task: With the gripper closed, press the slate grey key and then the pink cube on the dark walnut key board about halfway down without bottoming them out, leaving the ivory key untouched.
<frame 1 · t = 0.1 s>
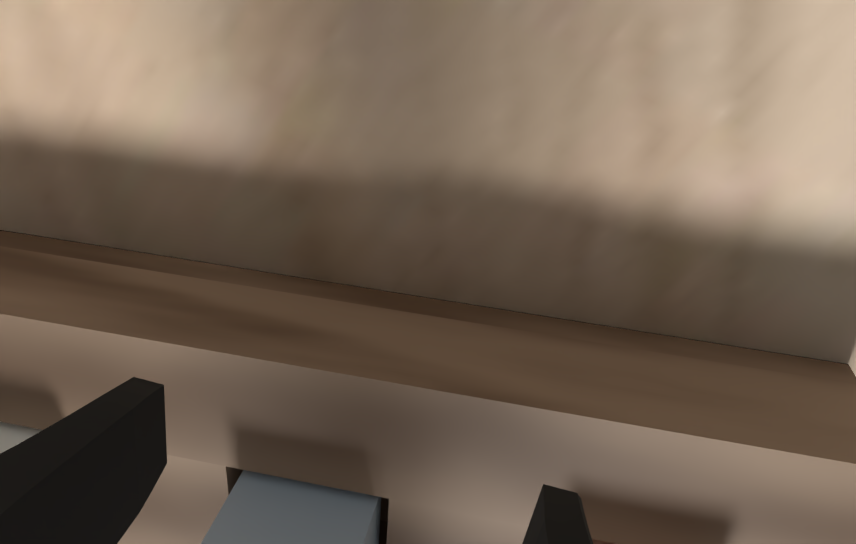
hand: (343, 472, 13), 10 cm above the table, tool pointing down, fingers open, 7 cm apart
ivory key: (6, 503, 23), point 6 cm above the table, slide at 0.0 cm
key board: (347, 443, 26), on the table
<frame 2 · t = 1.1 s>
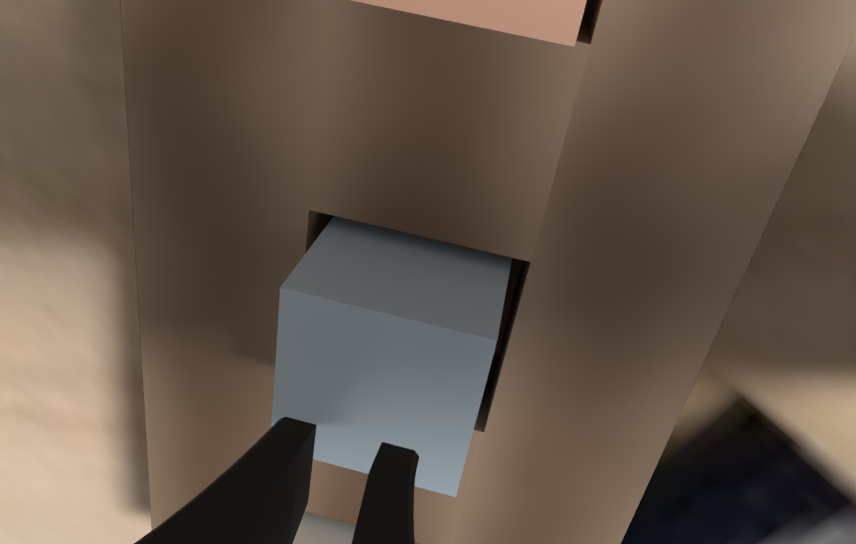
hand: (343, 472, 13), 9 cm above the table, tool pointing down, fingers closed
key board: (434, 247, 21), on the table
slate key: (392, 351, 16), point 6 cm above the table, slide at 0.0 cm
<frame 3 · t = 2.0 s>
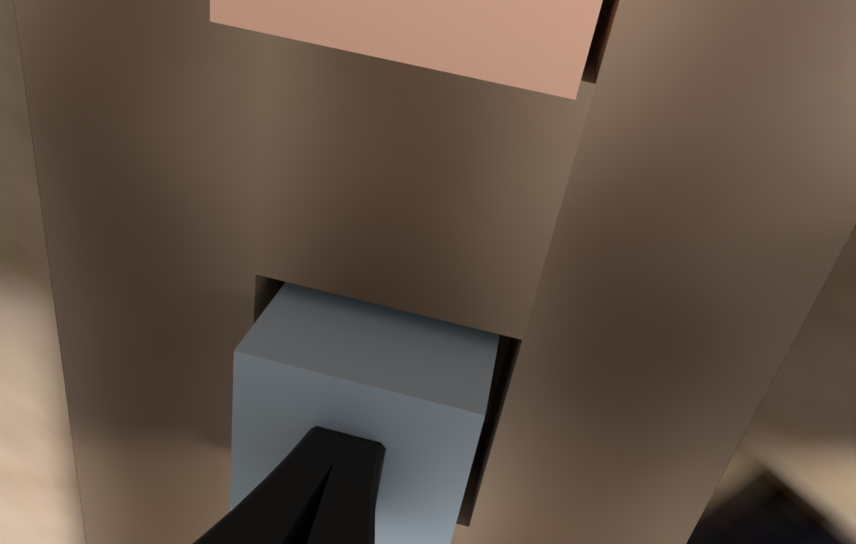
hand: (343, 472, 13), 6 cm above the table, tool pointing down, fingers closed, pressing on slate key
key board: (415, 299, 18), on the table
slate key: (369, 412, 14), point 5 cm above the table, slide at 0.9 cm, touching gripper
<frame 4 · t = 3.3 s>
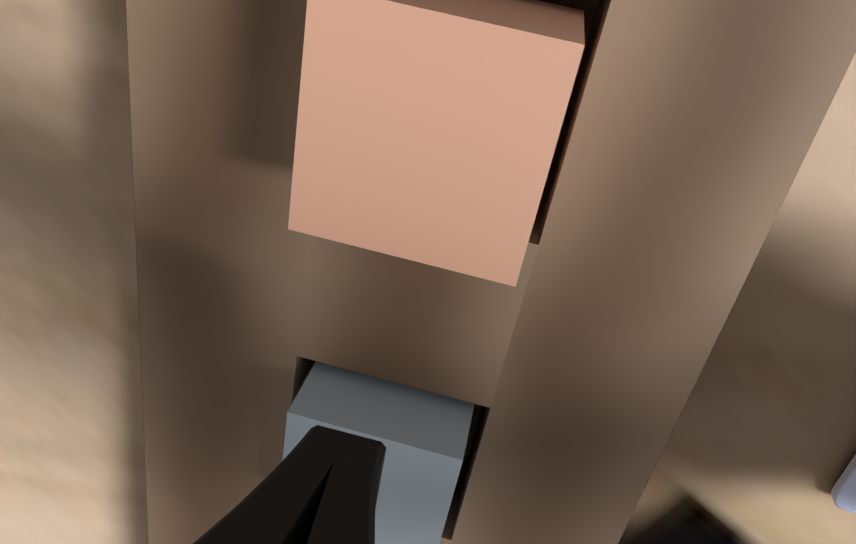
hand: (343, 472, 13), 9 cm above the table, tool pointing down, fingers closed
pink cube: (438, 117, 13), point 5 cm above the table, slide at 0.0 cm
key board: (412, 359, 23), on the table
slate key: (379, 450, 19), point 4 cm above the table, slide at 1.1 cm
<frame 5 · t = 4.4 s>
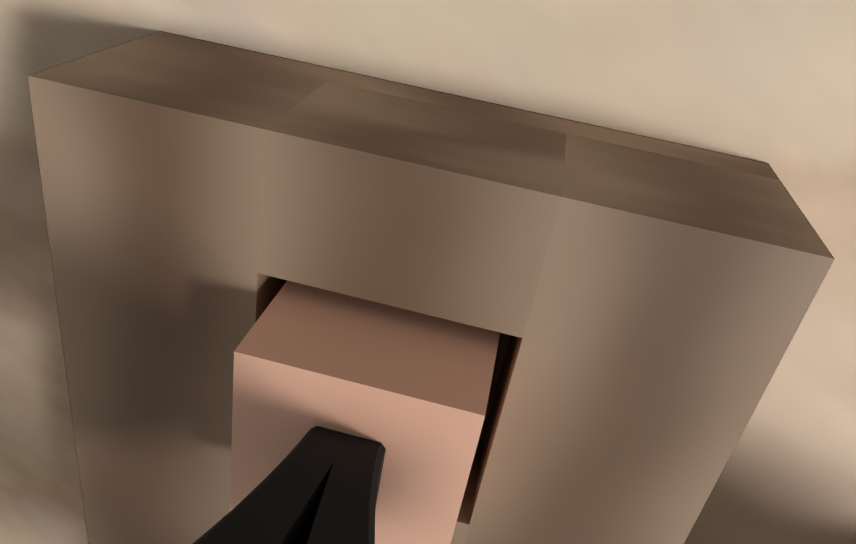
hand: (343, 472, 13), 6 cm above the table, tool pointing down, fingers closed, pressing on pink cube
pink cube: (369, 413, 14), point 5 cm above the table, slide at 0.8 cm, touching gripper
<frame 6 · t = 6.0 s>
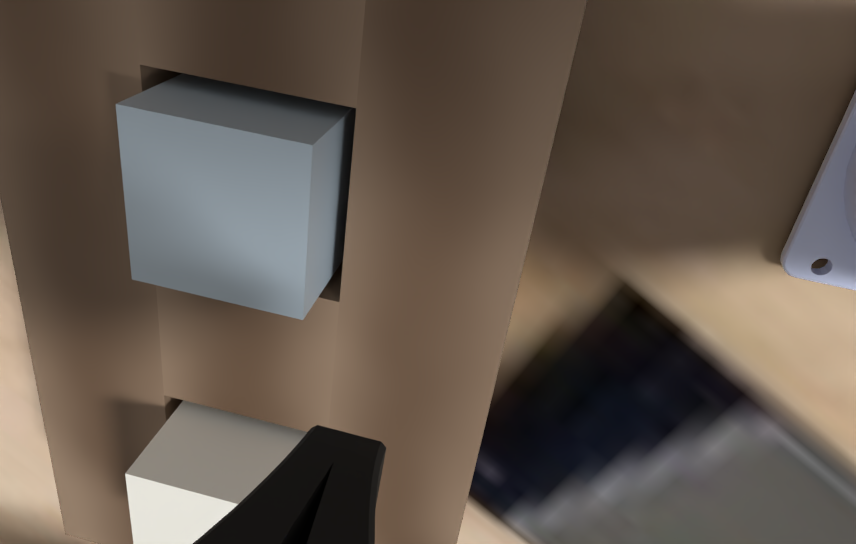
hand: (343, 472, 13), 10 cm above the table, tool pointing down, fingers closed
ivory key: (230, 500, 21), point 6 cm above the table, slide at 0.0 cm
key board: (309, 134, 21), on the table
slate key: (247, 189, 17), point 4 cm above the table, slide at 1.1 cm
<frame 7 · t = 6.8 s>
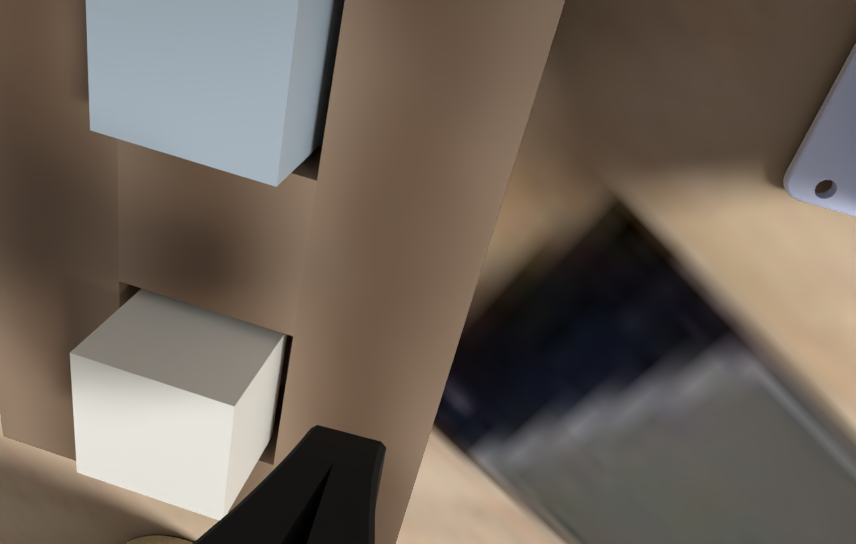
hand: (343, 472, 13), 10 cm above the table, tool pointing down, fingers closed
ivory key: (183, 399, 20), point 5 cm above the table, slide at 0.0 cm
key board: (296, 12, 19), on the table
slate key: (225, 42, 16), point 4 cm above the table, slide at 1.1 cm
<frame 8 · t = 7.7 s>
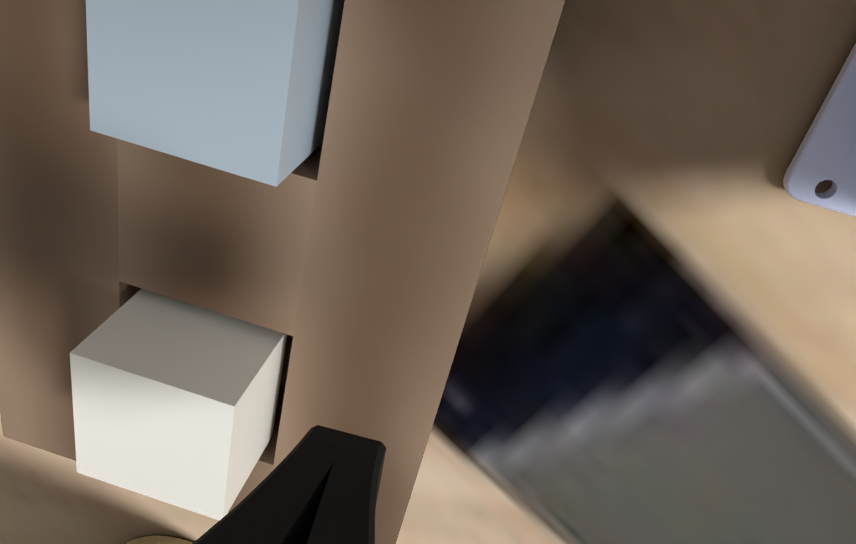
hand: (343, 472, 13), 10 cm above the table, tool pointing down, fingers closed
ivory key: (183, 399, 20), point 6 cm above the table, slide at 0.0 cm
key board: (296, 12, 19), on the table
slate key: (225, 42, 16), point 4 cm above the table, slide at 1.1 cm
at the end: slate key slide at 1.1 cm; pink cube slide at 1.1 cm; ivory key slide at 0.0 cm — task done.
